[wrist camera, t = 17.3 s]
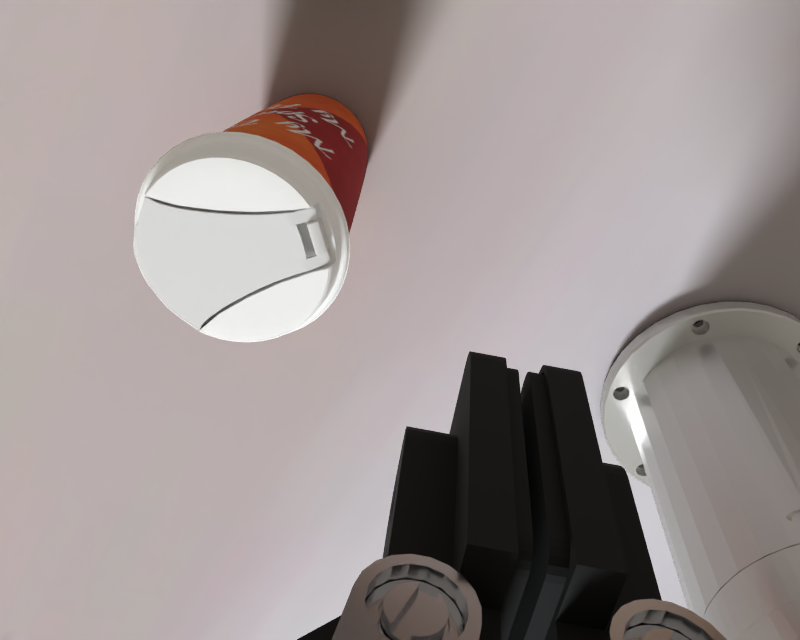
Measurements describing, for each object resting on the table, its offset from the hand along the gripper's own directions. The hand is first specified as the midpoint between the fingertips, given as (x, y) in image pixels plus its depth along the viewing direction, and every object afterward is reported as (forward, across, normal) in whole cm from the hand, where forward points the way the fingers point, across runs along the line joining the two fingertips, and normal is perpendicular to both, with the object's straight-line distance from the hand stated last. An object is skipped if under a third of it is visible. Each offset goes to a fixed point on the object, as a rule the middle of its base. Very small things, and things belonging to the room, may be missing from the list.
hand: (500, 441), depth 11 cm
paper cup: (+27, +8, +4) cm, 29 cm away
